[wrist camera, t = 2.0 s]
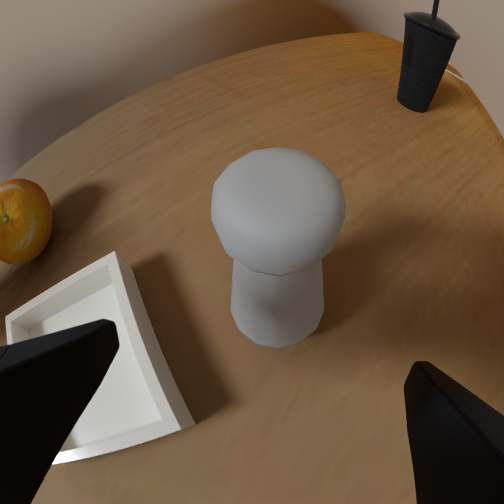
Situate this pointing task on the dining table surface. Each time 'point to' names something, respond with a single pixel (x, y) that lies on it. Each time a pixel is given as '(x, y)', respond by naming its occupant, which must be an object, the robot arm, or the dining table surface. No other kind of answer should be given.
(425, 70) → the drinking cup
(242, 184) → the salt shaker
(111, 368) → the dish
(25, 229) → the fruit
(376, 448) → the dining table surface
